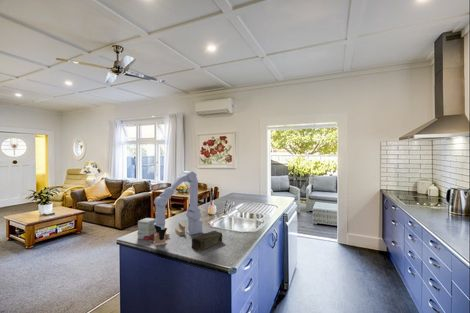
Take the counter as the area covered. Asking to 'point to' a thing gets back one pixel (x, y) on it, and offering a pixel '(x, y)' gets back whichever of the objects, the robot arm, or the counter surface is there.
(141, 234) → the ink box
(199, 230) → the robot arm
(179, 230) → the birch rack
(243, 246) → the counter surface
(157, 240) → the terracotta block
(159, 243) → the white tile
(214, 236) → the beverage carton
